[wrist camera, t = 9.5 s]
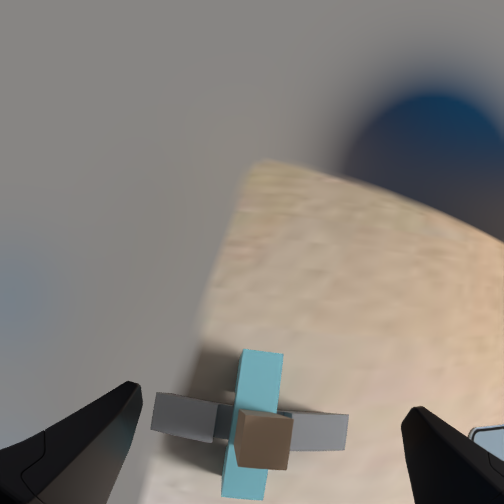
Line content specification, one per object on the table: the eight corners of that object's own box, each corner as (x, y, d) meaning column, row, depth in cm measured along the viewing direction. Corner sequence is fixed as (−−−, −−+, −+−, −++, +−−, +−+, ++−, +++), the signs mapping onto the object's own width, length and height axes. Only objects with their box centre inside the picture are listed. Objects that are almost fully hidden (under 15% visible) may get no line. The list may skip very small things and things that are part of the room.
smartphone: (472, 427, 17) (529, 419, 16) (466, 427, 18) (525, 420, 17) (456, 488, 14) (519, 468, 12) (450, 487, 15) (514, 468, 13)
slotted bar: (323, 412, 19) (348, 414, 15) (319, 441, 18) (344, 450, 14) (171, 393, 19) (156, 392, 15) (166, 422, 18) (150, 429, 13)
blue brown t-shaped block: (254, 479, 16) (279, 537, 7) (221, 475, 16) (220, 534, 7) (270, 363, 21) (308, 334, 12) (239, 359, 21) (252, 327, 12)
